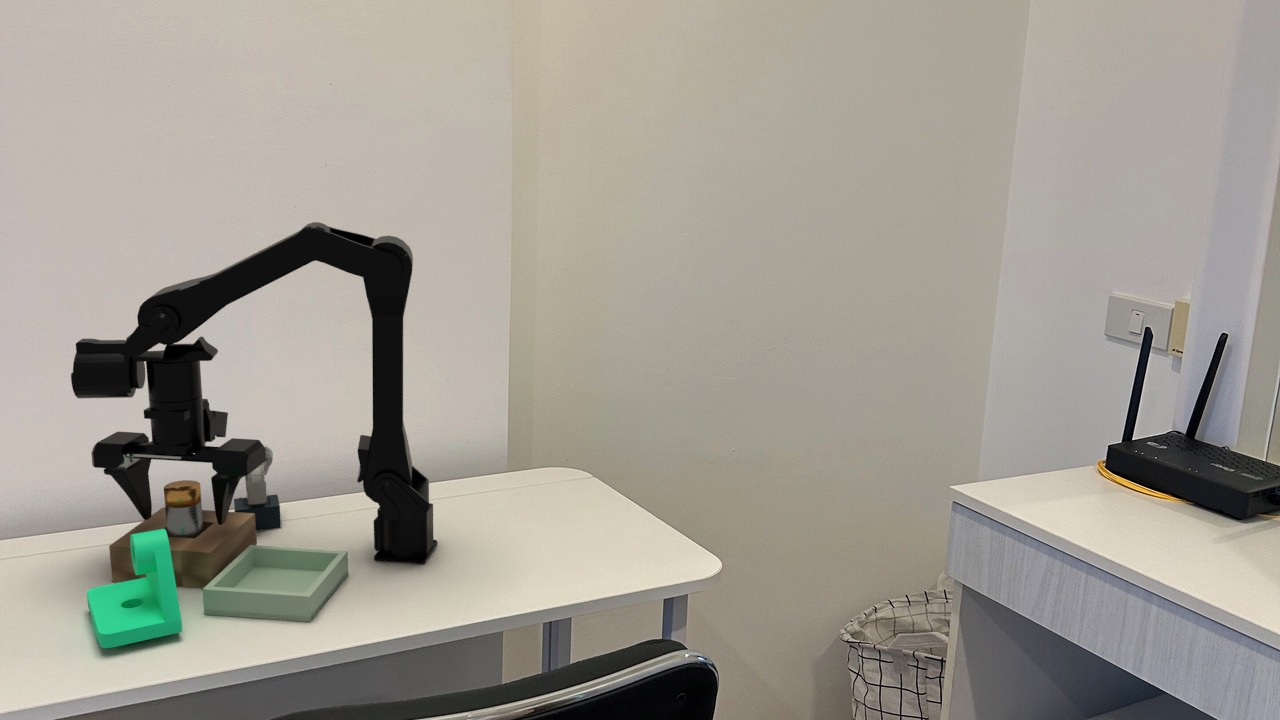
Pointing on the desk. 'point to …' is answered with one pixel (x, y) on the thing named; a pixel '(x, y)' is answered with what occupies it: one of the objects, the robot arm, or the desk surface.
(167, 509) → the steel pin
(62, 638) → the desk surface
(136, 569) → the camera mount
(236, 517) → the hole block
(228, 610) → the tray
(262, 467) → the watch
